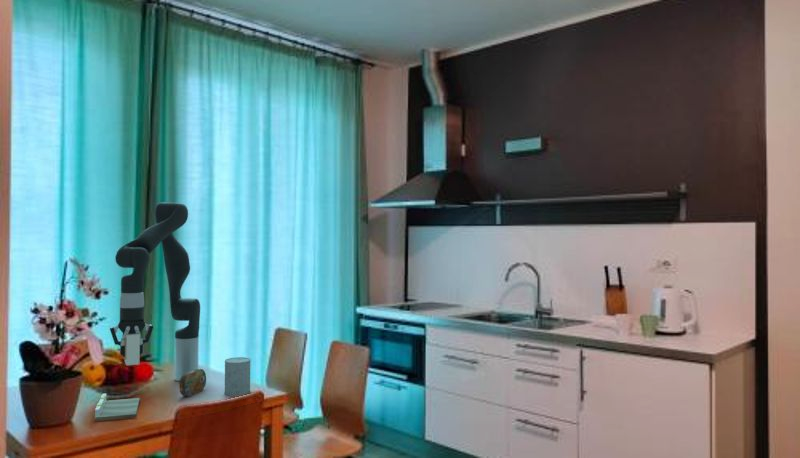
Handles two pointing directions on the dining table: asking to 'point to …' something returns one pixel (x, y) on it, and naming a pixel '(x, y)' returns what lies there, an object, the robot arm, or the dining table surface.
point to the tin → (192, 382)
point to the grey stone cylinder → (237, 376)
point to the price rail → (100, 405)
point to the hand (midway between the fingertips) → (131, 355)
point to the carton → (132, 349)
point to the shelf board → (119, 409)
